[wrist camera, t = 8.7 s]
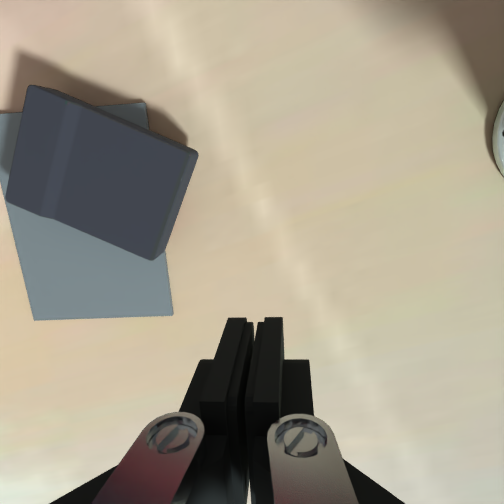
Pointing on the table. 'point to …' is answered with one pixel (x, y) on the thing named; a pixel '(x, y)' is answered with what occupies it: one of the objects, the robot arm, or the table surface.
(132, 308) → the mat
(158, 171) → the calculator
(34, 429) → the table surface
